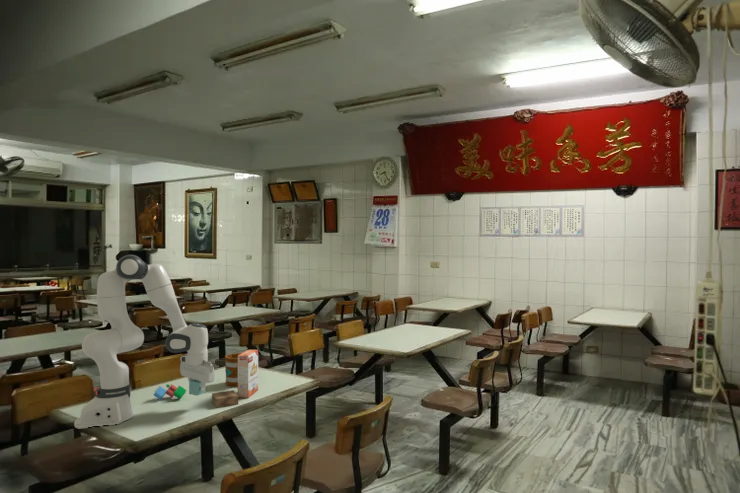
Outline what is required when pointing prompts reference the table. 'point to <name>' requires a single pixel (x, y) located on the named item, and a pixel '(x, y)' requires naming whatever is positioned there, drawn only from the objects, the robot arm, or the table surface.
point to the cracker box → (247, 373)
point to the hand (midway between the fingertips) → (197, 388)
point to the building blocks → (170, 391)
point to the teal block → (195, 387)
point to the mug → (232, 370)
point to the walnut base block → (224, 398)
